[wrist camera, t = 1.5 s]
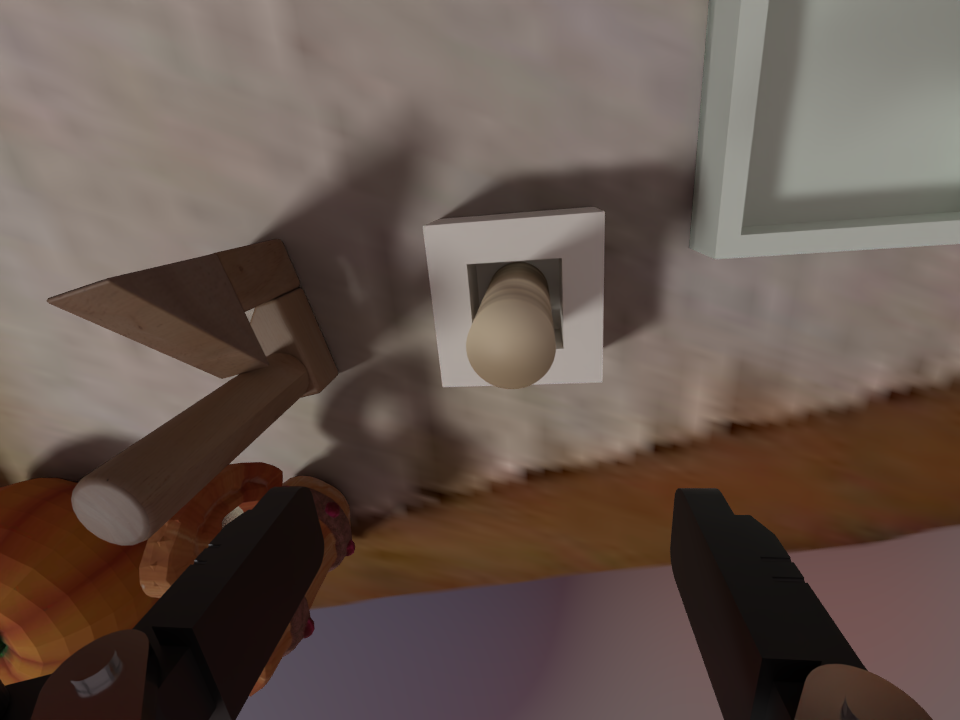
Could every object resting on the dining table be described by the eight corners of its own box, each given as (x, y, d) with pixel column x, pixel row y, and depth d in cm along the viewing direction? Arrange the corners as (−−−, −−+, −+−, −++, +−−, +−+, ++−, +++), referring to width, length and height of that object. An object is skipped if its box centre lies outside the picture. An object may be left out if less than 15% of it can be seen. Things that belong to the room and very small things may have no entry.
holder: (439, 218, 30) (422, 225, 26) (593, 206, 29) (604, 211, 24) (455, 358, 34) (442, 387, 29) (592, 353, 32) (602, 382, 28)
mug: (376, 544, 41) (297, 728, 28) (295, 549, 43) (181, 727, 29) (328, 401, 36) (200, 538, 22) (238, 413, 38) (66, 549, 24)
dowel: (486, 263, 30) (462, 306, 20) (547, 259, 29) (554, 302, 19) (491, 322, 31) (470, 390, 21) (549, 319, 31) (557, 387, 21)
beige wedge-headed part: (283, 236, 32) (8, 299, 15) (341, 373, 35) (170, 545, 19) (238, 251, 33) (-70, 325, 16) (300, 383, 36) (100, 558, 19)
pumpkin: (186, 632, 49) (50, 809, 35) (16, 575, 49) (-188, 731, 35) (199, 498, 42) (33, 655, 28) (-1, 430, 42) (-268, 555, 28)
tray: (714, -69, 23) (753, -123, 19) (1076, -125, 21) (1209, -199, 17) (689, 247, 29) (714, 259, 25) (972, 229, 27) (1051, 237, 23)
